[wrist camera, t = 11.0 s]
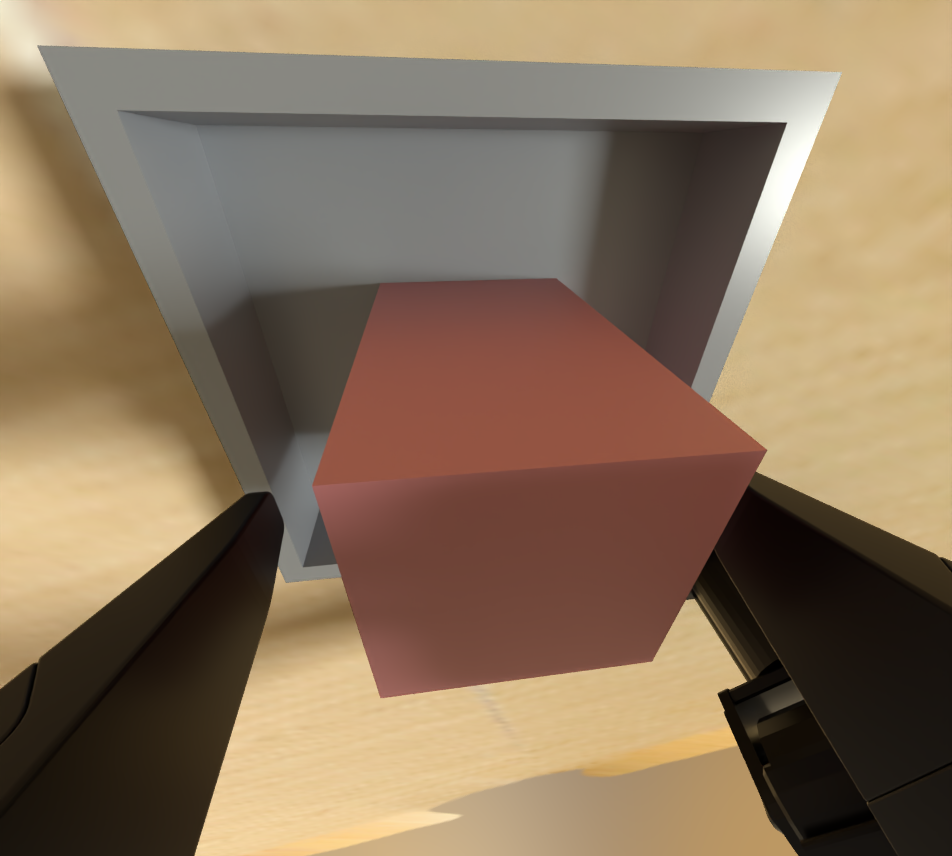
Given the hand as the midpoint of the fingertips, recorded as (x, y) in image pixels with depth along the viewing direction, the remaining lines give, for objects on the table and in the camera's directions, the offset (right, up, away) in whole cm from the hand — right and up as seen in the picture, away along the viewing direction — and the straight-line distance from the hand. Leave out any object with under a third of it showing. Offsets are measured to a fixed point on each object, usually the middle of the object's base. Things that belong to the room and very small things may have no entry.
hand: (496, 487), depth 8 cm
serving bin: (-1, +4, +6) cm, 7 cm away
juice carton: (-1, +4, +5) cm, 7 cm away
